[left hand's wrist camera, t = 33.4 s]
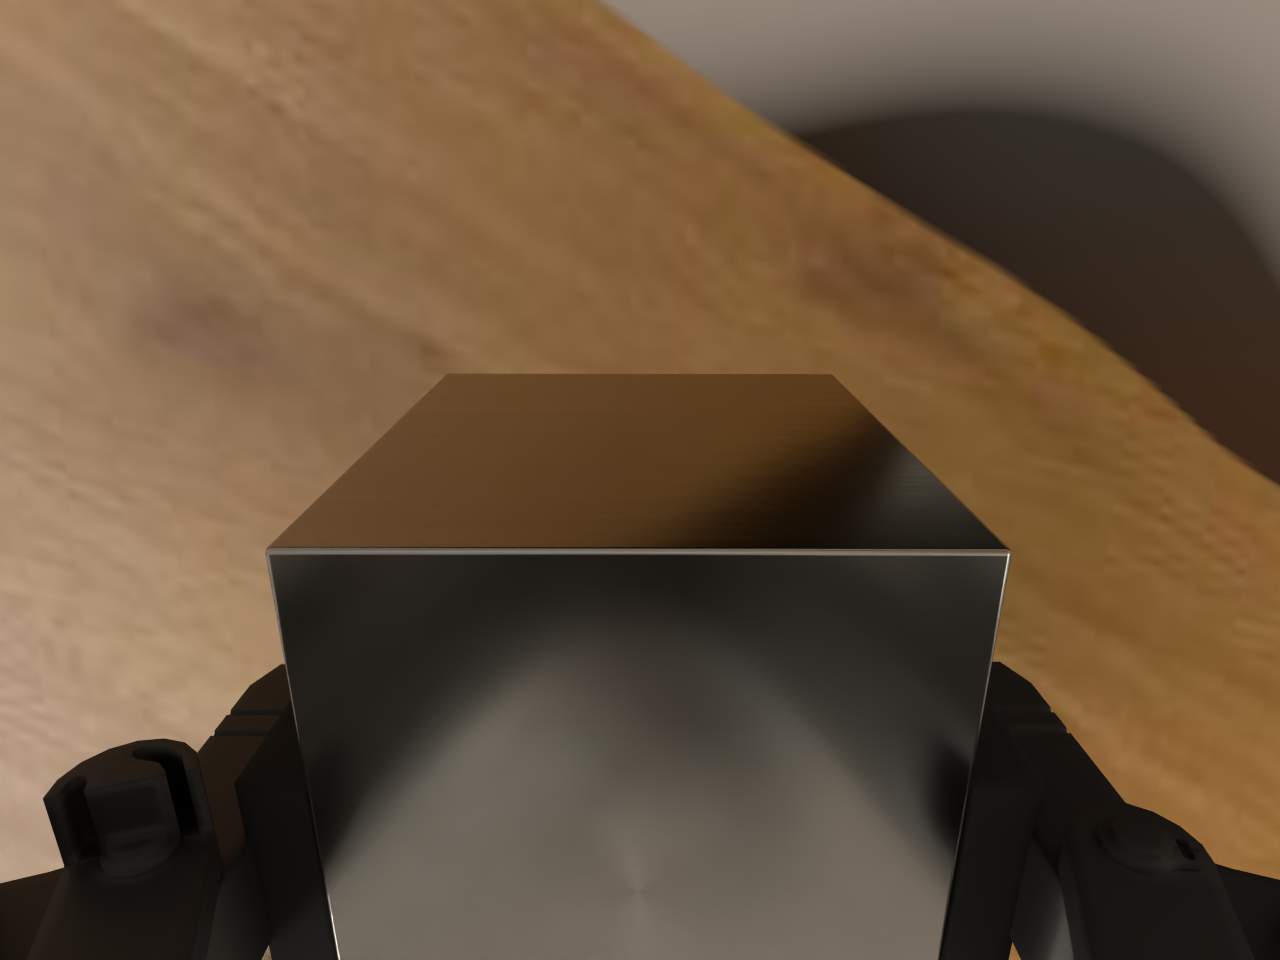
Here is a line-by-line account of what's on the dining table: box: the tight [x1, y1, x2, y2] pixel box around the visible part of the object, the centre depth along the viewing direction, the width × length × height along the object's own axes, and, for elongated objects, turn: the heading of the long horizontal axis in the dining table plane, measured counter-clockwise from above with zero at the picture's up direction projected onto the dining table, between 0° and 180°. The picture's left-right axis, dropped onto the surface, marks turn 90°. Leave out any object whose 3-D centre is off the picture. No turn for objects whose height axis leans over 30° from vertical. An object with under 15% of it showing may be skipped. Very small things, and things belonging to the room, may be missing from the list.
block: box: [266, 374, 1011, 960], centre depth 12 cm, size 8×7×7 cm
